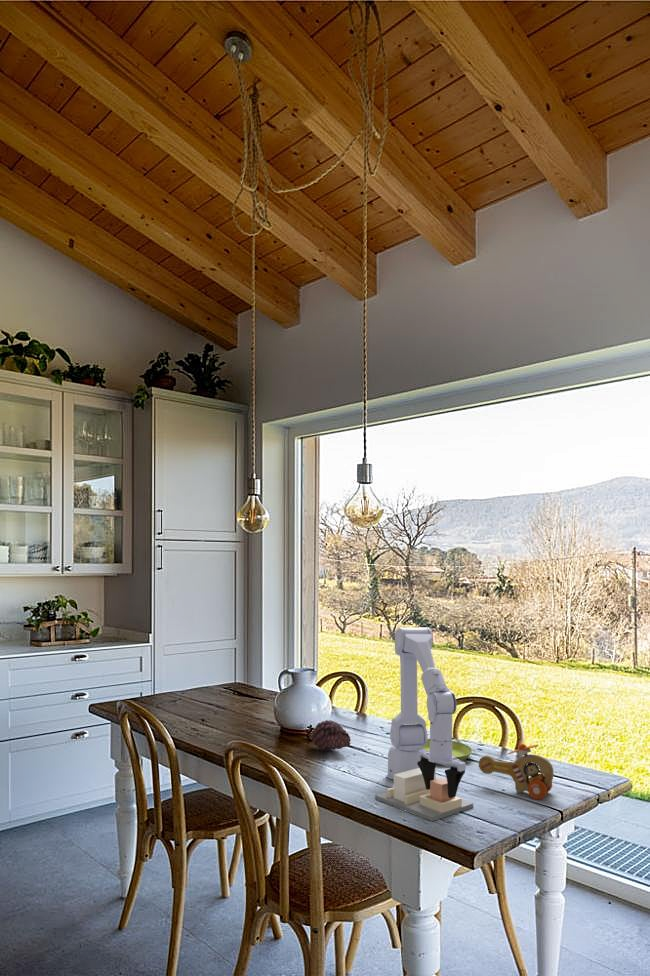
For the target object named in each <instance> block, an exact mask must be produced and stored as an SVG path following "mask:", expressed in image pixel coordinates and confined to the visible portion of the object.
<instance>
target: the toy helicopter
mask: <svg viewBox="0 0 650 976" xmlns="http://www.w3.org/2000/svg"><path fill="white" fill-rule="evenodd" d="M537 747H539V744H532V745H529V746H527V745H526V744H524V743H520V744H519V745H518V747H517V748H518V749H514V750H511V751H509V752H508V755H510V754H515V753H517V754H518V756H519V758H518V759H517V760H515V761H514V762H513V761H505V760H498V759H497V760H496V759H495V758H494V757H493V756H491V755H483V756H482V757H480V758H479V760H478V768H479V771H481V772H482V773H484V774H485V775H490V774H492V773H499V774H503V775H508V776H509V777H511V779H512V780H513V781H514V784H515V787H514V788H515V791H516V792H517V793H520V794H521V793H523V792H528V794H529V796H530V797H531V798H532V799H535V800H537V799H539V800H542V799H544V798H545V797H546V795H547V793H548V792H550V791H551V790H552V788H553V780H554V774H555V773H554V767H553V765H552V763H551V762H550V760H548V759H547V758H546V757H544V756H542V755H538V754H529V753H531V751H532V750H531V749H533V748H537ZM520 756H521V757H520Z"/></svg>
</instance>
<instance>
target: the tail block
mask: <svg viewBox="0 0 650 976" xmlns="http://www.w3.org/2000/svg"><path fill="white" fill-rule="evenodd" d="M430 799H433V800H436V801H438V802H441V803H443V802H446V801H449V800H452V798H449V797H448V783H447V779H446V778H442V777H438V778H436V779H435V780H431V781H430Z"/></svg>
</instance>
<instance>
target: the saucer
mask: <svg viewBox="0 0 650 976" xmlns="http://www.w3.org/2000/svg"><path fill="white" fill-rule="evenodd" d="M421 750H426V751H430V738H428V739H427V743H426V745H425V746H423V749H421ZM472 753H473V749H472V747H471V746H469V745H468V744H465V743H463V742H459V741H456V740H452V756H453V757H455V758H456V759H458V760H460V761H462V762H464V761H466V760H467V759H468V758H469V757H470V756H471V755H472ZM436 765H439V764H438V763H436Z"/></svg>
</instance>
